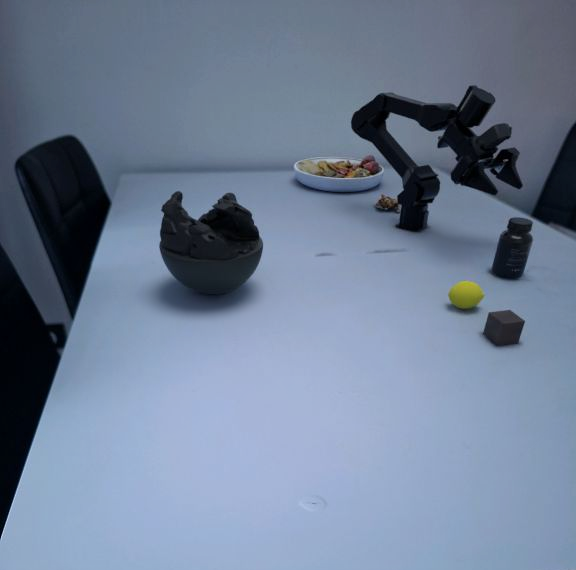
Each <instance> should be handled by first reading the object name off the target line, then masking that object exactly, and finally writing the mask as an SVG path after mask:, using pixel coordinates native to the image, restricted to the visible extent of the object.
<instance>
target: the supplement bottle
mask: <svg viewBox="0 0 576 570" xmlns="http://www.w3.org/2000/svg"><path fill="white" fill-rule="evenodd" d="M533 225H534V222H533V220H531V219H529V218H527V217H519V216H518V217H516V216H515V217H514V216H513V217H510V218H509V219H508V223H507V225H506V229H505V230H504V231H502V232H501V233H500V234H499V237H498V241H497V246H496V250H495V253H494V257H493V261H492V265H491V271H492V272H491V273H492V274H493V275H495V276H496V277H499V278H501V279H506V280H516V279H520V278H522V277H523V275H524V272H525V269H526V267H527V263H528V259H529V256H530V252H531V249H532V246H533V243H534V236H533V235H532V234H531V232H532V230H533Z"/></svg>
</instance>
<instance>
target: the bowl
mask: <svg viewBox="0 0 576 570" xmlns="http://www.w3.org/2000/svg"><path fill="white" fill-rule="evenodd" d="M293 172H294V176H295V178H296V180H297V181H298V182H300V183H301V184H302V185H304V186H306V187H308V188H312V189H314V190H319V191H325V192H332V193H333V192H335V193H353V192H361V191H367V190H370V189H373V188H375V187H376V186H377V185H379V184H380V183H381V182H382V180H383V178H384V175H385V168H384V167H383V166H382V165H380V164H379V163H378V162H377V161H376V158H375V156H374V155H372V154H368V155H366V156H364V158H363V159H359V158H354V157H342V156H322V157H321V156H320V157H311V158H310V157H309V158H305V159H301V160H298V161H297V162H295V163H294V165H293Z"/></svg>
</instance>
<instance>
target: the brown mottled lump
mask: <svg viewBox="0 0 576 570" xmlns="http://www.w3.org/2000/svg"><path fill="white" fill-rule="evenodd" d="M380 197H381V198H380V199H378V200H377V202H376V203H375V208H379V209H381V210H388V209H395V212H396V213H399V214H400V212H401V209H400V208H399V205H400V204H398V200H397V198H393V197H391V196H385V194H383V193H381V196H380Z"/></svg>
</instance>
